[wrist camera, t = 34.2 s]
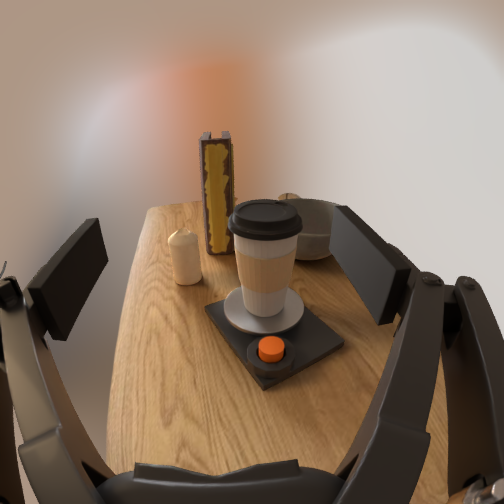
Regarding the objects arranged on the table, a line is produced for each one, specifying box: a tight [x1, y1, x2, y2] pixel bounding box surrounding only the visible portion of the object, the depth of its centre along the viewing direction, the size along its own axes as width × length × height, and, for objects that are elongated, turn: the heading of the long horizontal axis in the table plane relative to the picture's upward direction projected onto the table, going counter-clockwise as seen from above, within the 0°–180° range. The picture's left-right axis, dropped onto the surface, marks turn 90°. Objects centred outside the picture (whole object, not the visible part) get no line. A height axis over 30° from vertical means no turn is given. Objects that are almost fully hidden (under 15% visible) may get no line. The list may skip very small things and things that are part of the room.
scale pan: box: [224, 286, 304, 336], centre depth 42 cm, size 12×12×1 cm
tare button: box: [259, 336, 284, 363], centre depth 34 cm, size 3×3×2 cm
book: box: [199, 131, 235, 255], centre depth 66 cm, size 22×8×25 cm, turn 6°
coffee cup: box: [228, 199, 303, 317], centre depth 38 cm, size 9×9×15 cm
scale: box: [205, 299, 345, 390], centre depth 41 cm, size 18×14×3 cm
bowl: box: [279, 198, 341, 260], centre depth 61 cm, size 20×20×10 cm
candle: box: [168, 228, 202, 285], centre depth 52 cm, size 6×6×10 cm
